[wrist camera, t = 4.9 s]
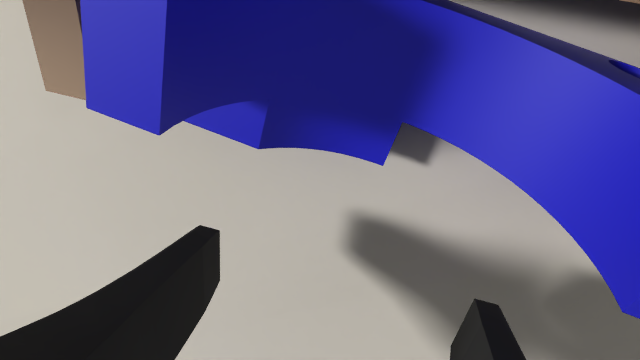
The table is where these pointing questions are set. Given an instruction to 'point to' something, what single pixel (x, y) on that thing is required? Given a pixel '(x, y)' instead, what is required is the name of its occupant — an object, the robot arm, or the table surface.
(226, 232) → the table surface
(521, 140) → the blue notched arch
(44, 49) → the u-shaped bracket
